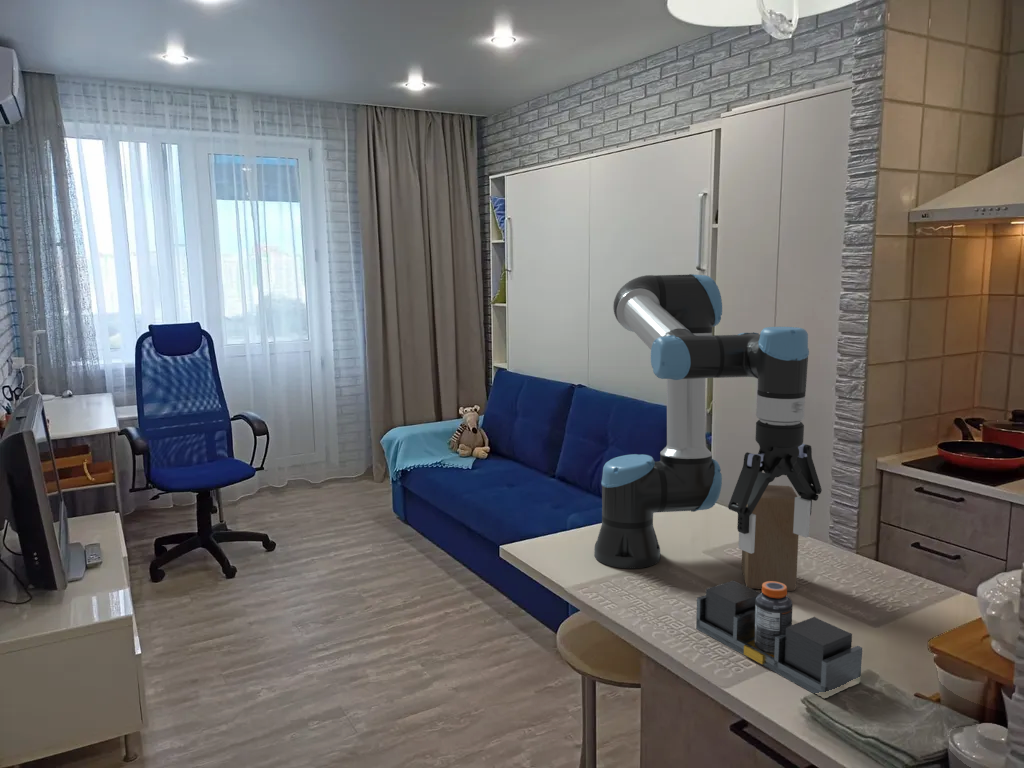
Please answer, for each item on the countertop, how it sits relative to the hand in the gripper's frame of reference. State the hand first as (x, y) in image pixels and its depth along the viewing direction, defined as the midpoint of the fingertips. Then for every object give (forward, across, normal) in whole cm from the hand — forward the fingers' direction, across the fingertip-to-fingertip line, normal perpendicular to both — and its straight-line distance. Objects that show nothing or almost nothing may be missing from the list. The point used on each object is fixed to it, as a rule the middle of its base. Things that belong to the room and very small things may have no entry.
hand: (774, 542), depth 126 cm
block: (+20, +22, +19) cm, 36 cm away
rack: (+19, -1, -2) cm, 19 cm away
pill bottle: (+18, -1, -2) cm, 18 cm away
